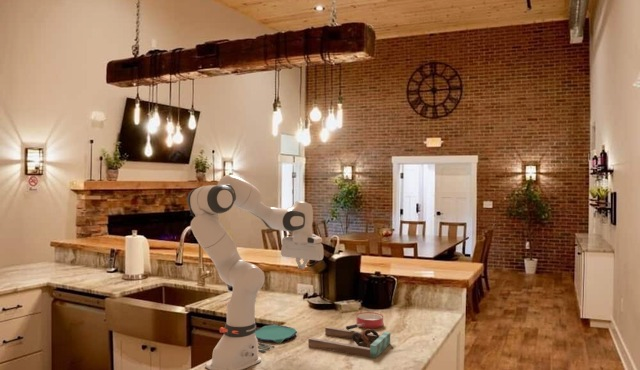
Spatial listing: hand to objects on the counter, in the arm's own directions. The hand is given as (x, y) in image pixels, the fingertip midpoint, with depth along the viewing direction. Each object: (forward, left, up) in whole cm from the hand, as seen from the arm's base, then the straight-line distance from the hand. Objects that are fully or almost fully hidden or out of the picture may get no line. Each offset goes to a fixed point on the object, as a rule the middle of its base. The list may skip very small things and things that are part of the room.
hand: (301, 268), depth 222 cm
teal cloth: (-8, +12, -32) cm, 35 cm away
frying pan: (+23, -22, -32) cm, 45 cm away
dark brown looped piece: (+3, -30, -32) cm, 43 cm away
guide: (+2, -23, -31) cm, 39 cm away
